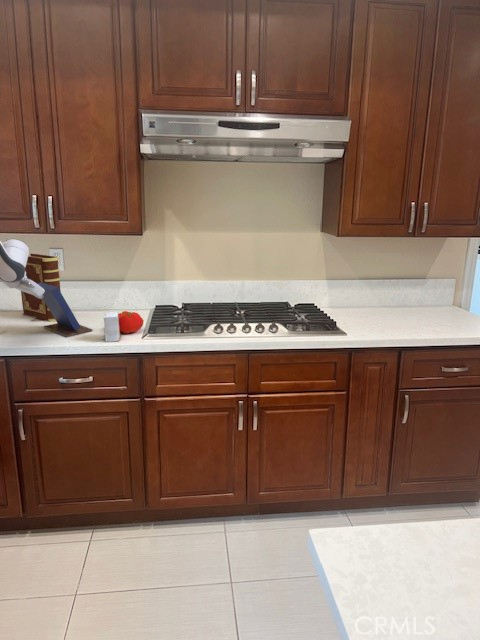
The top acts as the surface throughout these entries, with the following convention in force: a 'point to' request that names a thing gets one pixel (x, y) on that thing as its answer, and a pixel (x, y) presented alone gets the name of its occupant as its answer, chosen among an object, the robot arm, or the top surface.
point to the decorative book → (39, 271)
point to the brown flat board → (67, 330)
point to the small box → (111, 327)
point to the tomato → (129, 322)
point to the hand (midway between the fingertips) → (41, 297)
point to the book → (59, 307)
